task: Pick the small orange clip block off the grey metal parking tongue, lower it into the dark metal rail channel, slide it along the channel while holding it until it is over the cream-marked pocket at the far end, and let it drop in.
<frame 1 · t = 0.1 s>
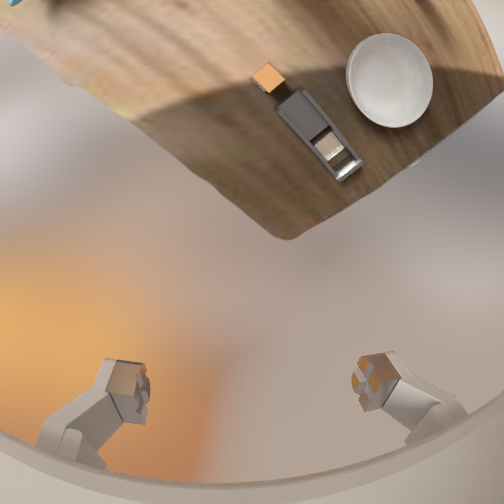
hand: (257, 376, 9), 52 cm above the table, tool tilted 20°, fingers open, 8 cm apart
clip block: (266, 77, 44), point 1 cm above the table, touching parking tongue
serving bowl: (378, 76, 45), on the table
rail: (316, 130, 53), on the table
parking tongue: (265, 76, 45), on the table
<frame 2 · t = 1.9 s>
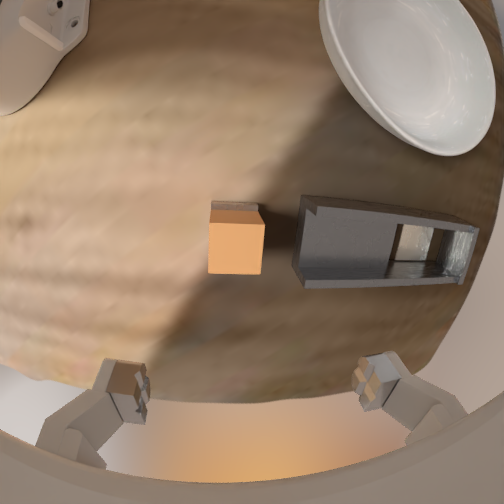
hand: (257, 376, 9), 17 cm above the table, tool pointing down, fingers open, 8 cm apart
clip block: (233, 232, 24), point 1 cm above the table, touching parking tongue
serving bowl: (392, 56, 20), on the table
rail: (383, 236, 27), on the table
parking tongue: (232, 229, 25), on the table
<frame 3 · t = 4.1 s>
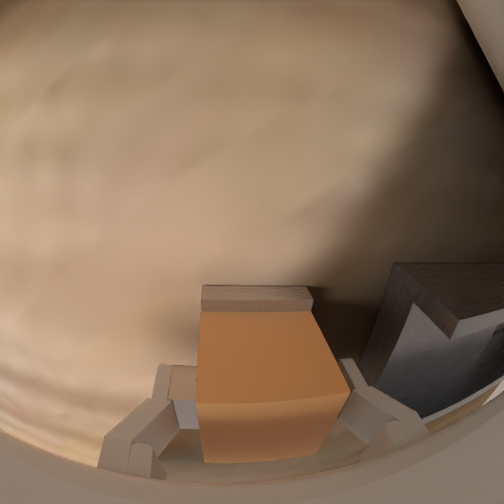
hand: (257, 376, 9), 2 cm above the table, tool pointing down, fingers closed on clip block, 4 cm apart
clip block: (253, 352, 10), point 1 cm above the table, touching gripper, parking tongue
serving bowl: (500, 28, 6), on the table
rail: (480, 310, 13), on the table
parking tongue: (250, 336, 11), on the table
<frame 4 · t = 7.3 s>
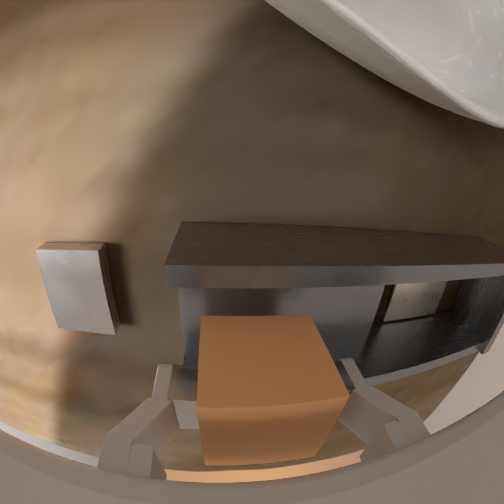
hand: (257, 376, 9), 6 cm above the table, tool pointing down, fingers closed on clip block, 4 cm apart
clip block: (253, 355, 10), point 4 cm above the table, touching gripper
rail: (362, 287, 15), on the table
parking tongue: (81, 284, 13), on the table
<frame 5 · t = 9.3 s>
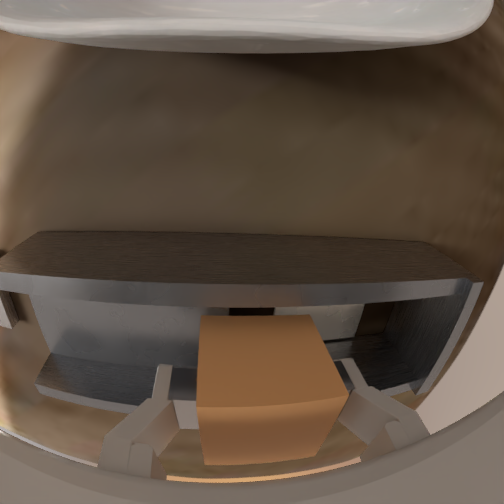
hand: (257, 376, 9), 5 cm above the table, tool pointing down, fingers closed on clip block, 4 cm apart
clip block: (252, 355, 10), point 3 cm above the table, touching gripper
rail: (226, 302, 13), on the table
when the fingers open (3 cm above the table, at t = 11.0 s): clip block drops 2 cm, resting on rail.
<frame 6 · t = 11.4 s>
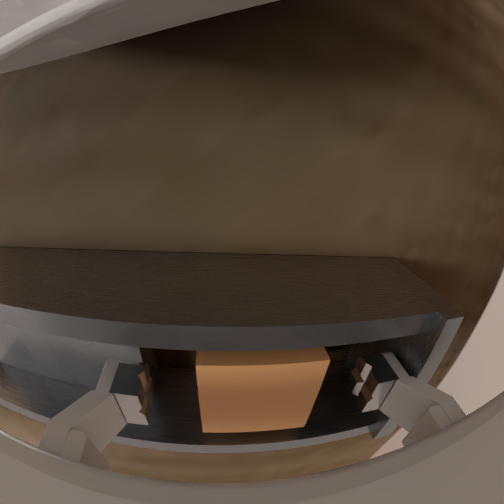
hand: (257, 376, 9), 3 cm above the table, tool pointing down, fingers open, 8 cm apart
clip block: (247, 332, 12), resting on rail
rail: (149, 324, 11), on the table
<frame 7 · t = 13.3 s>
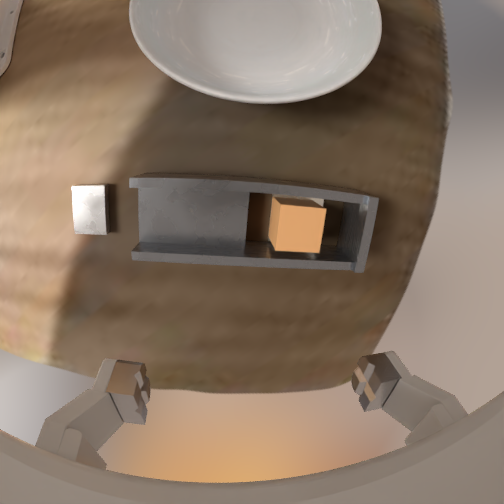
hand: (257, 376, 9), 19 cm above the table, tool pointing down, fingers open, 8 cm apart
clip block: (290, 218, 27), resting on rail
serving bowl: (253, 23, 20), on the table
rail: (245, 213, 26), on the table
parking tongue: (92, 208, 24), on the table
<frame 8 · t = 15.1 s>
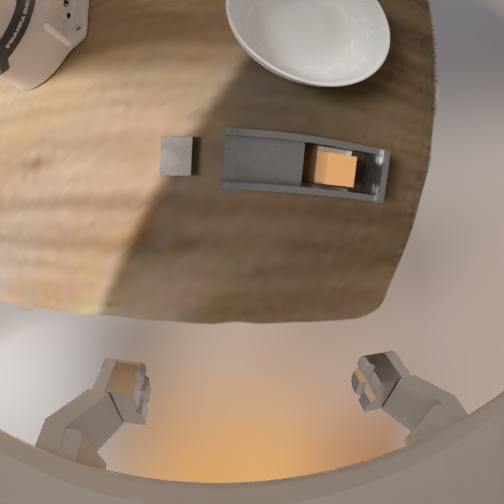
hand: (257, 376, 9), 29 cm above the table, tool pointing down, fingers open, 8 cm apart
clip block: (329, 166, 35), resting on rail
serving bowl: (300, 29, 27), on the table
rail: (298, 162, 35), on the table
parking tongue: (177, 155, 33), on the table
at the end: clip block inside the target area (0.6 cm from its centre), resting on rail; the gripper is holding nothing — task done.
